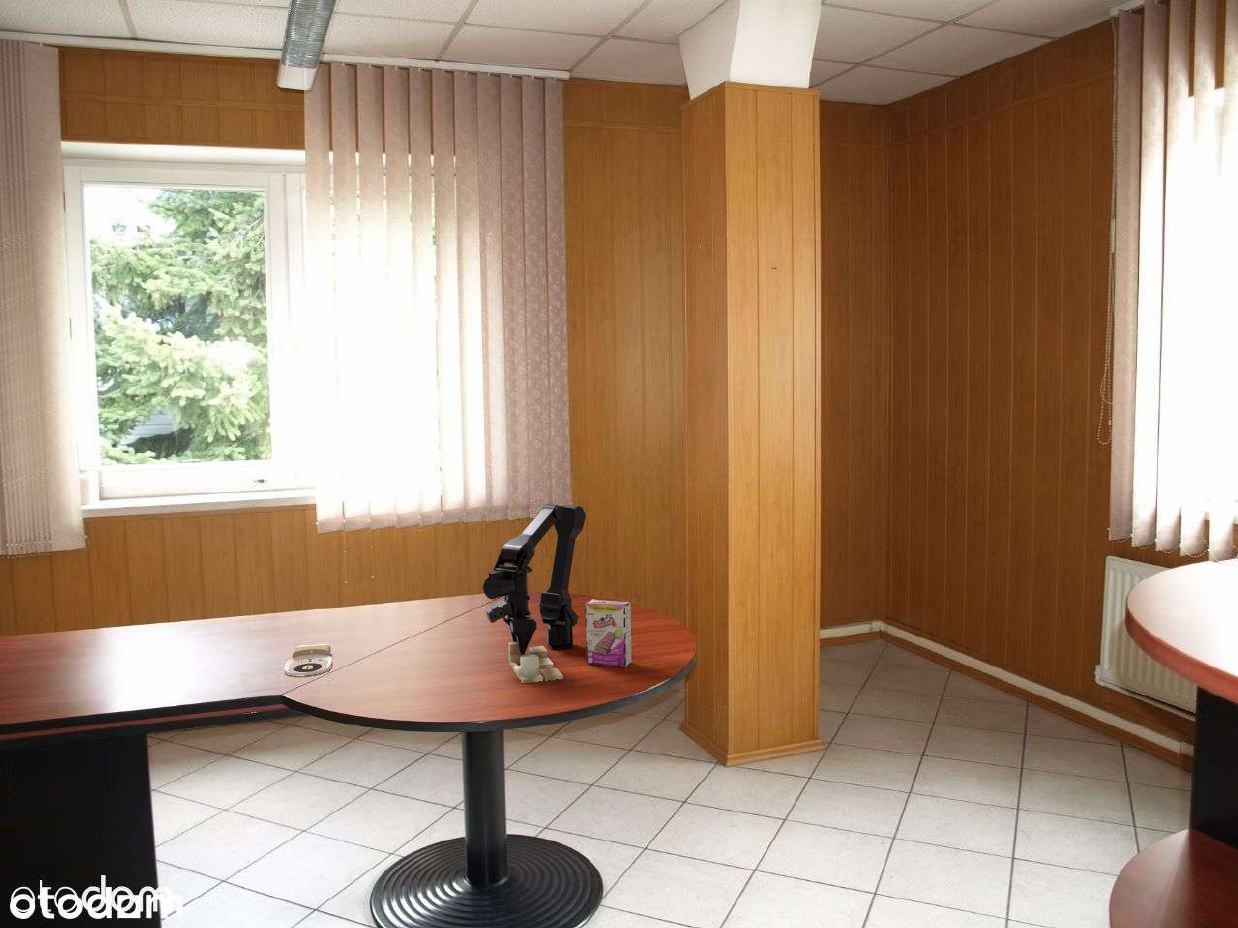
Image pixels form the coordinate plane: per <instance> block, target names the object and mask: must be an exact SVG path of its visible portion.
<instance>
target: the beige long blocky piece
mask: <svg viewBox="0 0 1238 928" xmlns="http://www.w3.org/2000/svg"><path fill="white" fill-rule="evenodd" d="M529 647H530V644H529V645H528V647H527V650H526V652H525V654H522V655H521V654H520V650H519V645H518V641H516V642H513V641H508V642H507V652H508V653H507V654H508V664H509V666H510V667H511V668H512V670H513V671H514V673H515V674H516V676H517V677H518V679H519V681H520V680H521V681H520V682H521V683H523V684H529V683H531V682H532V683H538V682H539V681H541V682H543V681H544V678H543V677H542V675H541V674H540V672H539V675H538V676H536V677H531V678H526V677H522V676H521V666H520V657H521V656H524V655H530V648H529ZM539 683H540V682H539Z"/></svg>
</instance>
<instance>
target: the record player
mask: <svg viewBox="0 0 1238 928" xmlns="http://www.w3.org/2000/svg"><path fill="white" fill-rule="evenodd" d="M331 648H332V647H331V645H330V644H329V643H320V644H306V645H297V646H295V648H294V650H293V653H292V658H291V659H289V660H287V661H286V662H285V665H284V668H283V669H284V670H283V672H285V673H287V674H290V675H304V676H303V677H308V676H307V675H312V676H315V675H314V674H317V675H320V674H319V673H321V674H324V673H326V672H328V671H330V670H331V668H332V665H331V664H333V657H331V656H330V655H331V653H330V652H332V649H331ZM316 658H319V659H316ZM305 659H307V660H309V661H307V662H309V663H307V664H301V665H298V666H296V667H294V668H293V670H294V671H296V672H297V671H298V672H306V673H293V672H289V671H288V669H289V666H290V664H292V663H294V662H296V661H298V662H300V660H301V662H303V660H305ZM313 659H316V660H318V661H324V660H323V659H325V660H327V661H328V664H327V667H326V668H325V669H322V670H318V669H320V668H322V665H321V664H317V663H311V662H313ZM324 664H325V662H324ZM324 667H325V666H324ZM330 667H331V668H330ZM329 669H330V670H329ZM316 670H318V671H316ZM327 670H328V671H327ZM325 671H326V672H325ZM323 672H324V673H323ZM285 673H284V674H285ZM305 675H306V676H305Z"/></svg>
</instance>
